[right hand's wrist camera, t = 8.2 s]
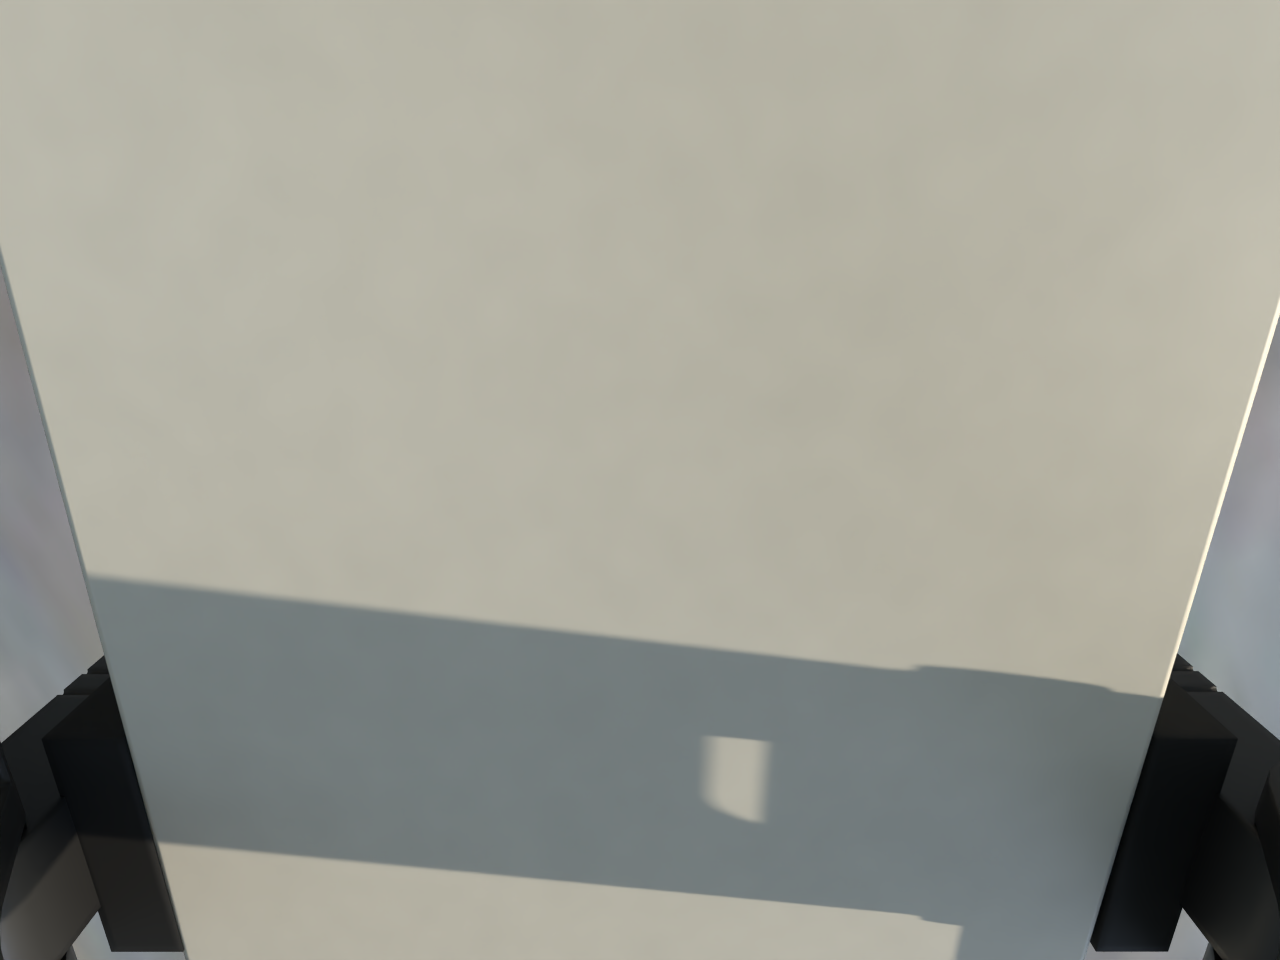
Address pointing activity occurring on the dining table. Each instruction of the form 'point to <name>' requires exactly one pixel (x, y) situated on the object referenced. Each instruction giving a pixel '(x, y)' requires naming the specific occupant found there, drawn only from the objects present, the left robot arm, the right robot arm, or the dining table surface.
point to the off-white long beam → (640, 450)
